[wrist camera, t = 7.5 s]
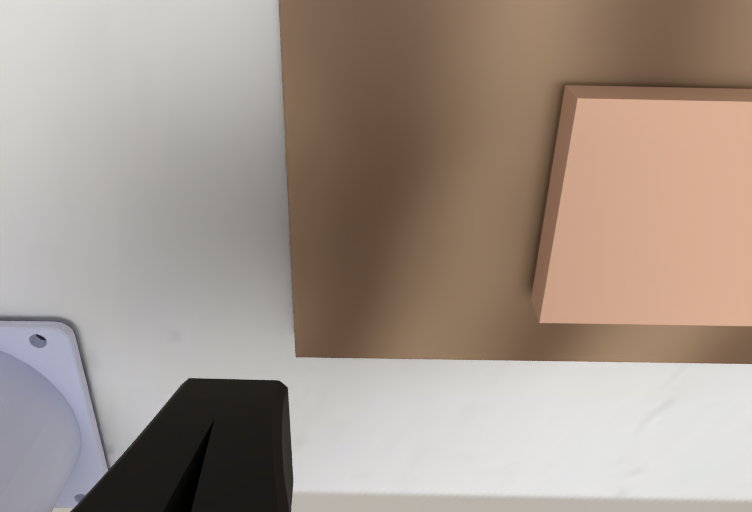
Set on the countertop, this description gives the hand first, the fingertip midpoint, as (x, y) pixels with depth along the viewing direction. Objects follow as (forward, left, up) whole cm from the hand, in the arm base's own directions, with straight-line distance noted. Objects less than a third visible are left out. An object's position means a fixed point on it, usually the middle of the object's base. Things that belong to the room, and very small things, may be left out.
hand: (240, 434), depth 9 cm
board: (+8, 0, -10) cm, 13 cm away
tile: (+6, 0, -8) cm, 10 cm away
